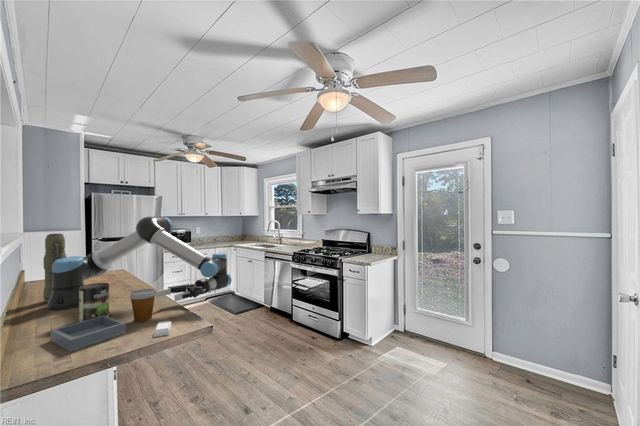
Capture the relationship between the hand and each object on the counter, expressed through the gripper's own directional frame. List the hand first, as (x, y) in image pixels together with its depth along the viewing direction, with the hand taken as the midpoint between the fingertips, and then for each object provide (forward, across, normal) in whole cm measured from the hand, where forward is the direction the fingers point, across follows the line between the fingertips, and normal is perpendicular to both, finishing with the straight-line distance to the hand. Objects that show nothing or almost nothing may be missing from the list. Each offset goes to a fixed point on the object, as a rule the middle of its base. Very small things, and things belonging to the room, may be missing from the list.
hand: (165, 296), depth 128 cm
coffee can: (+19, +21, -7) cm, 29 cm away
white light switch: (+13, -19, -8) cm, 24 cm away
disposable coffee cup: (+10, 0, -8) cm, 12 cm away
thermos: (+17, +69, -7) cm, 72 cm away
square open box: (+29, 0, -7) cm, 30 cm away
